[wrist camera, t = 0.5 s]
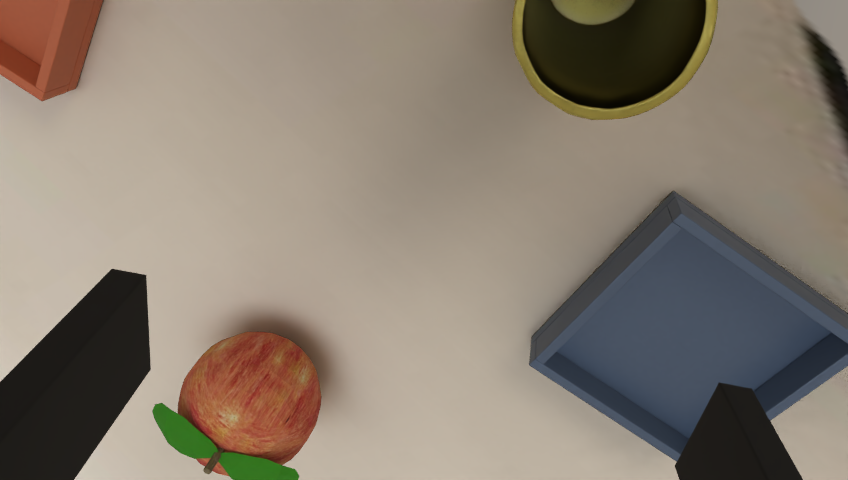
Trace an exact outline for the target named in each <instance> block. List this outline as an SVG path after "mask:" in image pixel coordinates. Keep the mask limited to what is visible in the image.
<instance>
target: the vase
mask: <svg viewBox="0 0 848 480" xmlns="http://www.w3.org/2000/svg"><path fill="white" fill-rule="evenodd" d="M717 11H718V0H515V3H514V11H513V17H512V37H513V46H514V50H515V55H516V57H517V59H518V61H519V63H520V65H521V67H522V69H523V71H524V73H525V75H526V77H527V79H528V81H529V83H530V84H531V86H532V87H533V88H534V89H535V91H536V92H537V93H538V94H540V95H541V96H542V97H544V98H545V99H546V100H547V101H549V102H550V103H552V104H553V105H555V106H557V107H558V108H560V109H561V110H563V111H564V112H566V113H568V114H571V115H574V116H577V117H581V118H586V119H591V120H608V119H622V118H628V117H632V116H636V115H639V114H641V113H644V112H647V111H649V110H651V109H653V108H655V107H657V106H659V105H660V104H662V103H664V102H665V101H667V100H669V99H670V98H671V97H673V96H674V95H676V94H677V93H678V92H679V91H680V90H682V89H683V88H684V87H685V86H686V84H687V83H688V82H689V81H690V80H691V78H692V77H693V75H694V74H695V73H696V71H697V70H698V68H699V66H700V65H701V63H702V62H703V60H704V58H705V56H706V54H707V53H708V50H709V47H710V44H711V41H712V38H713V34H714V29H715V24H716V19H717Z"/></svg>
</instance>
